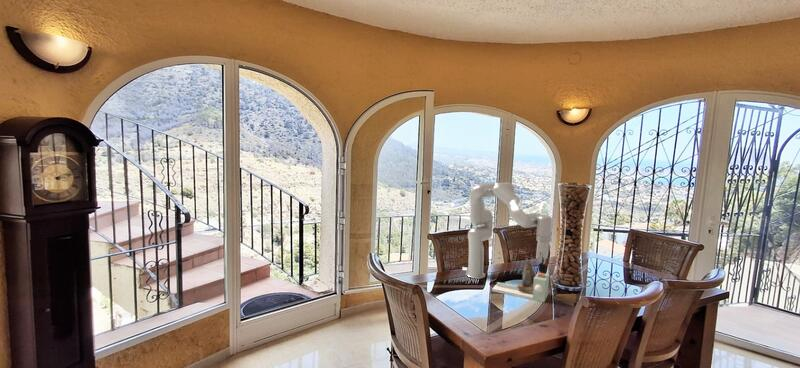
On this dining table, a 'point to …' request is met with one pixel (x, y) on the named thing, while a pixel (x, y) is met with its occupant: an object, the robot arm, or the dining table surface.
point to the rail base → (511, 290)
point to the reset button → (541, 275)
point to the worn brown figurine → (529, 271)
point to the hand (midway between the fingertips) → (542, 270)
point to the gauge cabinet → (540, 288)
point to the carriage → (525, 284)
